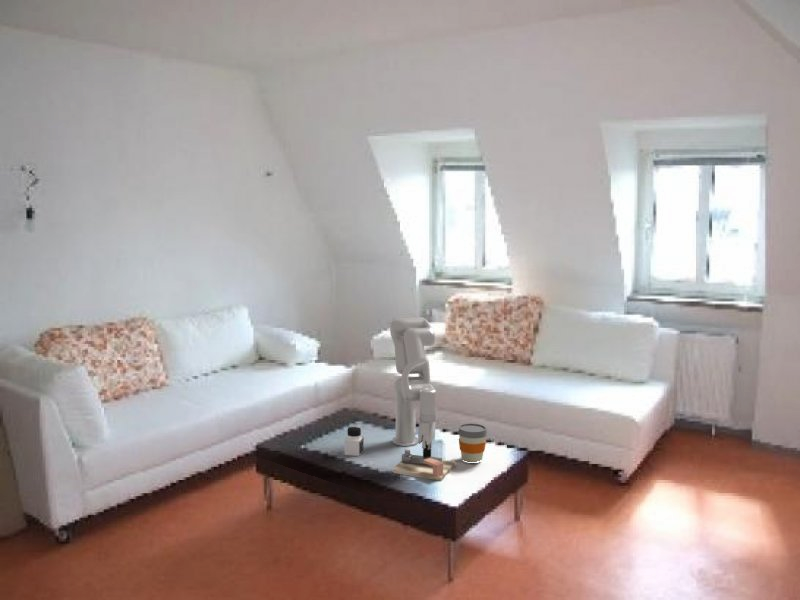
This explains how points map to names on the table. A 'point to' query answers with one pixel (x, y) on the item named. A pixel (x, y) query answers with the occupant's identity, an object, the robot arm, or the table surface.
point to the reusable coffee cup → (472, 441)
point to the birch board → (422, 469)
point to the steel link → (417, 459)
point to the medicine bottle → (354, 441)
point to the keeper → (435, 466)
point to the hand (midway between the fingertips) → (427, 457)
